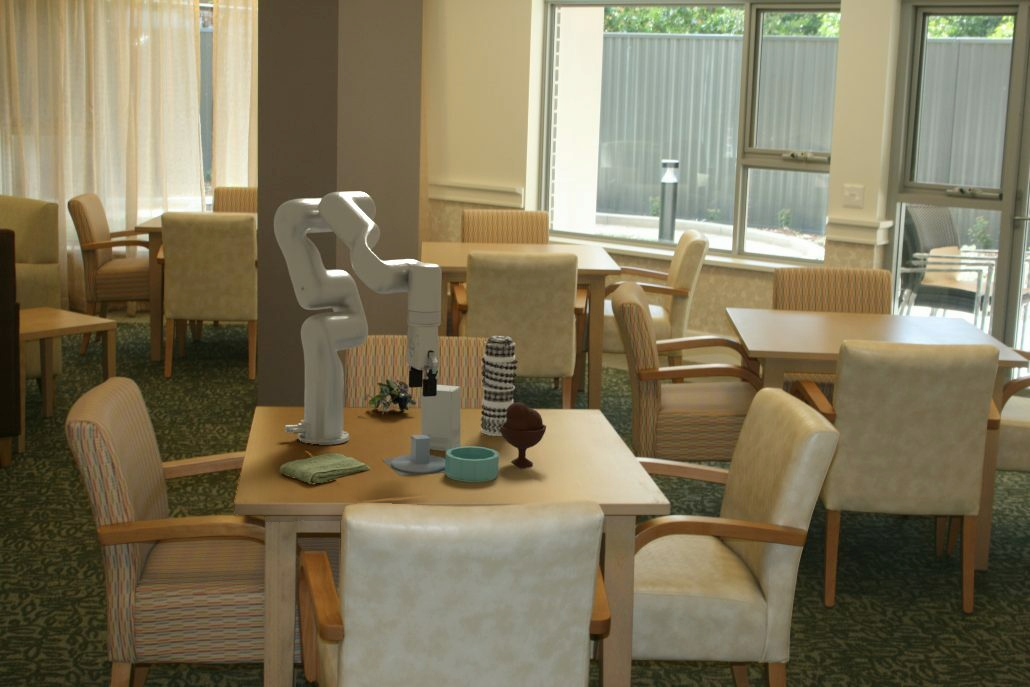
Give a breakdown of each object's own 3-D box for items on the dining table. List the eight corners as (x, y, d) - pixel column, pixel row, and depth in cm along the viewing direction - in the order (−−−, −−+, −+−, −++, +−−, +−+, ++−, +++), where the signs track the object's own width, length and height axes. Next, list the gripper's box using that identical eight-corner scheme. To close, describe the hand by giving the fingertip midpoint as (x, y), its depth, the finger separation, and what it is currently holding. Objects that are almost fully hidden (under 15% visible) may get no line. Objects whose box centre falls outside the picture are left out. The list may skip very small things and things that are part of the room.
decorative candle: (508, 438, 322) (512, 341, 318) (474, 433, 325) (477, 338, 321) (519, 430, 331) (523, 336, 326) (486, 426, 334) (489, 332, 329)
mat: (400, 478, 284) (400, 475, 284) (381, 461, 296) (381, 459, 296) (458, 473, 289) (458, 471, 289) (438, 457, 302) (438, 455, 302)
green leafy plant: (400, 430, 347) (426, 398, 344) (377, 430, 338) (402, 398, 334) (377, 402, 352) (401, 370, 348) (353, 401, 342) (378, 369, 339)
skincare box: (460, 448, 311) (462, 386, 308) (450, 454, 305) (452, 391, 302) (429, 444, 314) (431, 382, 311) (418, 450, 308) (420, 387, 305)
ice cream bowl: (512, 473, 291) (514, 410, 289) (491, 460, 301) (493, 399, 298) (552, 468, 296) (555, 406, 293) (530, 456, 306) (532, 396, 303)
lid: (401, 475, 284) (402, 445, 283) (384, 459, 296) (385, 431, 295) (455, 470, 289) (456, 442, 288) (436, 455, 301) (437, 428, 300)
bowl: (456, 486, 280) (457, 462, 279) (438, 471, 290) (439, 448, 289) (505, 481, 284) (506, 458, 283) (486, 467, 295) (486, 444, 294)
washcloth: (373, 474, 288) (373, 460, 288) (312, 488, 275) (312, 474, 275) (336, 461, 297) (336, 448, 296) (275, 475, 284) (275, 461, 283)
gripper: (396, 312, 293) (395, 384, 296) (420, 324, 277) (419, 400, 280) (427, 311, 296) (425, 383, 299) (452, 323, 280) (450, 398, 283)
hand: (422, 391), depth 289 cm, fingers open, 9 cm apart
